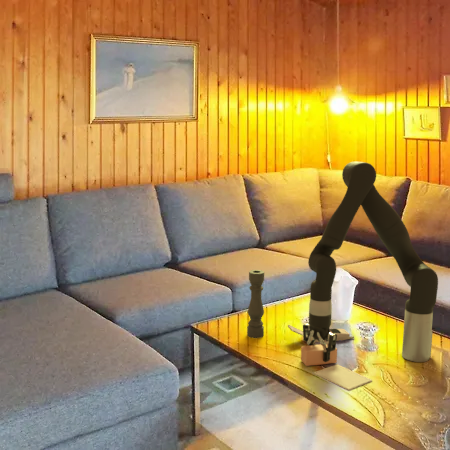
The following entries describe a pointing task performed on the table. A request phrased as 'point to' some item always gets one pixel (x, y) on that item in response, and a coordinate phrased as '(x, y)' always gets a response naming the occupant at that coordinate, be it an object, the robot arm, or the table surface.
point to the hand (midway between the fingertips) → (318, 357)
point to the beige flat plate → (342, 377)
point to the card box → (316, 355)
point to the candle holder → (255, 305)
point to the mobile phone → (341, 333)
